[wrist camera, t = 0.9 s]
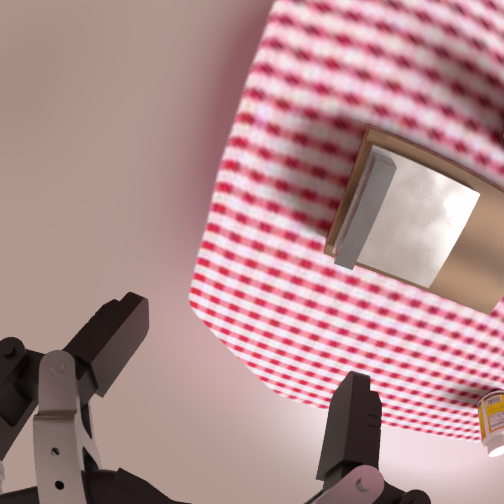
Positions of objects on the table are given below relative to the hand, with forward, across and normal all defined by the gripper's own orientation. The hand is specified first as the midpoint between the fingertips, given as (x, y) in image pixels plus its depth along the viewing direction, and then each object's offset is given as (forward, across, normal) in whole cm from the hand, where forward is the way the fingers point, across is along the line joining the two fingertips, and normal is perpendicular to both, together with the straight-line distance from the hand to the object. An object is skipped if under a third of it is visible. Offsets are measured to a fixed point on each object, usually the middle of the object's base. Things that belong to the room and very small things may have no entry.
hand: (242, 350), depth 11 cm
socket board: (+21, -13, 0) cm, 25 cm away
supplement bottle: (+21, -40, +22) cm, 50 cm away
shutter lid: (+18, -9, 0) cm, 20 cm away
